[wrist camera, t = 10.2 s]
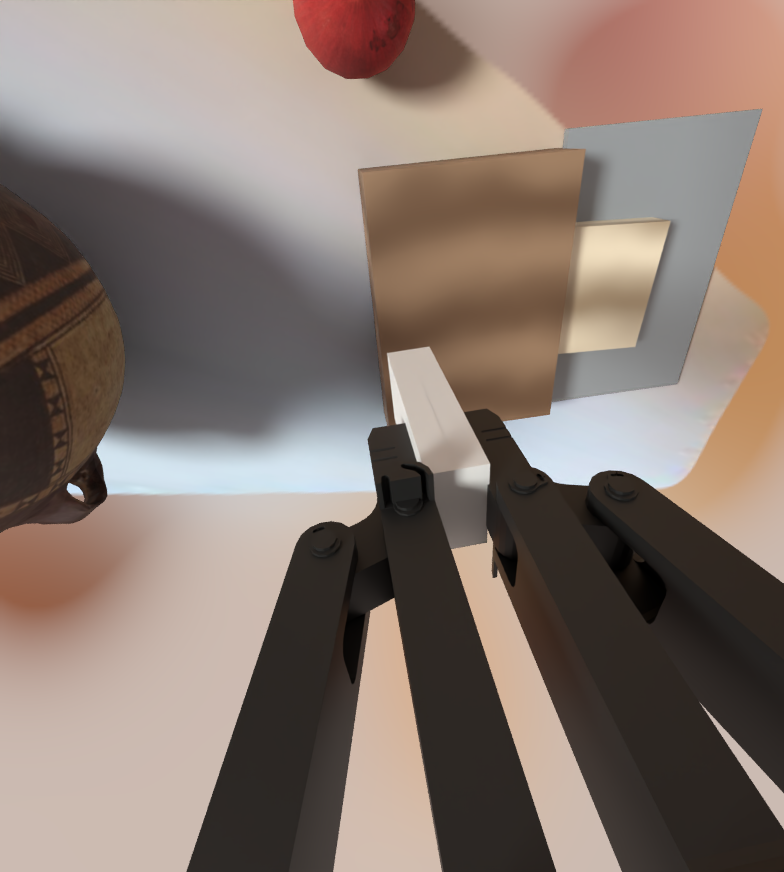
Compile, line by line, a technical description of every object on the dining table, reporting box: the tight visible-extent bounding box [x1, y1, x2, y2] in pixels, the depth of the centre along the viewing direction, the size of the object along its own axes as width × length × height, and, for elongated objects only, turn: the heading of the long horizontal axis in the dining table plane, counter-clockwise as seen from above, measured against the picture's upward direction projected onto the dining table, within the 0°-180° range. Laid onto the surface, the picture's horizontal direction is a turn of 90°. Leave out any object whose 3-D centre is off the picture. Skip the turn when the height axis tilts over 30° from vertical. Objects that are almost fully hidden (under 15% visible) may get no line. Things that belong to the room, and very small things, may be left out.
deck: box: [358, 148, 586, 426], centre depth 32 cm, size 18×13×4 cm
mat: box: [552, 109, 762, 402], centre depth 34 cm, size 20×13×1 cm, turn 5°
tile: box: [558, 217, 671, 354], centre depth 33 cm, size 9×7×2 cm
